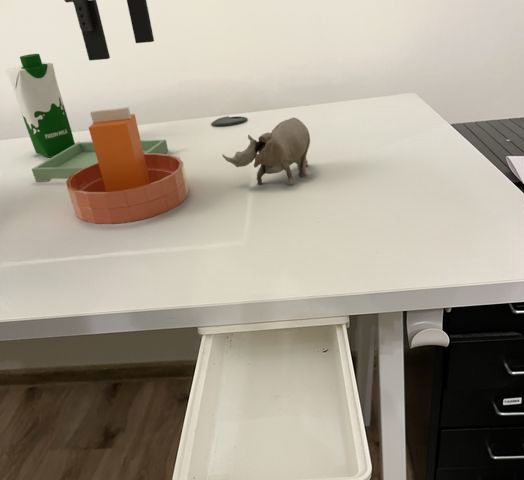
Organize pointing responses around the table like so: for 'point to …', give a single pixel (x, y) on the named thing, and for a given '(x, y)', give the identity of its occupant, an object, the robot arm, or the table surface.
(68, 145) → the milk carton
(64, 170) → the tray
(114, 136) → the carton
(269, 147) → the rhinoceros figurine
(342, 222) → the table surface
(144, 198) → the bowl
